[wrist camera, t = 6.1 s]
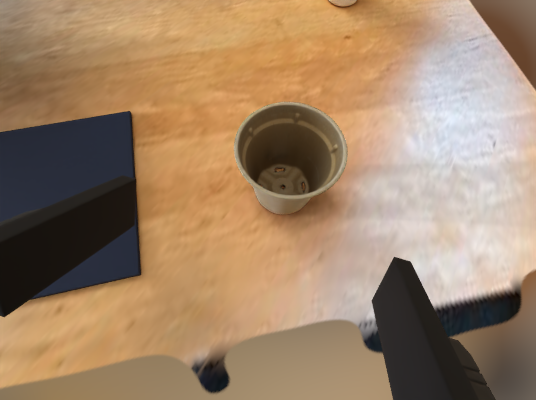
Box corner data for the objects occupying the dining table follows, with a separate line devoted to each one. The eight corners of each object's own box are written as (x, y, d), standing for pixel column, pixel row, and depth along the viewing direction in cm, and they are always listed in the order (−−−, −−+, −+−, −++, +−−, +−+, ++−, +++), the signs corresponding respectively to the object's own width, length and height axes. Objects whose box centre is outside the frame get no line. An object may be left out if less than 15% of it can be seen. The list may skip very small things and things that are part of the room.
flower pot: (295, 139, 33) (305, 85, 25) (342, 202, 30) (371, 163, 22) (226, 175, 31) (214, 129, 23) (269, 245, 28) (272, 220, 20)
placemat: (-44, 142, 32) (-49, 139, 31) (131, 113, 34) (129, 110, 33) (-84, 325, 25) (-90, 325, 24) (141, 274, 27) (138, 274, 26)
